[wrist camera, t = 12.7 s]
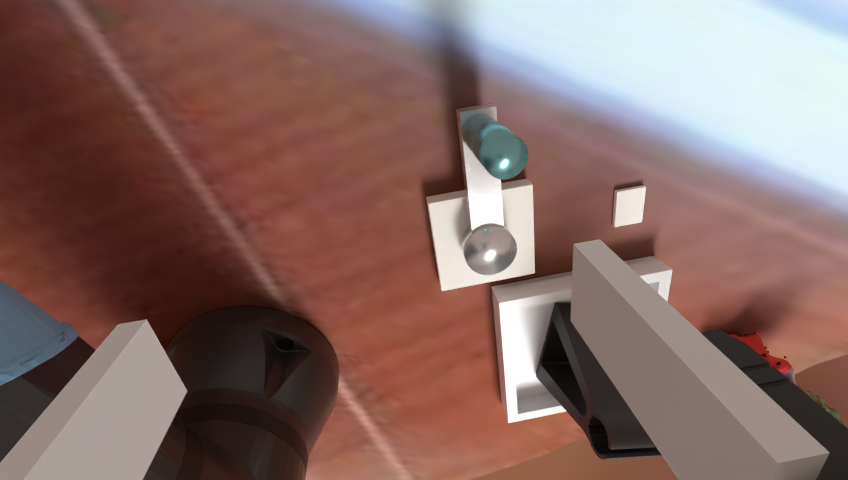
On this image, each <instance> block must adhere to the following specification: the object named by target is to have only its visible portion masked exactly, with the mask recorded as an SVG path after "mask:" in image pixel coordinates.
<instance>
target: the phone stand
mask: <svg viewBox="0 0 848 480" xmlns="http://www.w3.org/2000/svg"><path fill="white" fill-rule="evenodd" d="M570 320H571V302H555V304H554V307H553V311H552V315H551V318H550V322H549V326H548V329H547V333H546V337H545V339H546V341H544V344H543V348H542V352H541V355H540V359H539V363H538V366H537V370H536V377H537V379H538V380H539V381H540V382H541V383H542V384H543V385H544V386H545V388H546V389H547V390H548V391H549V392H550V393H551V394H552V395H553V397H554V398H555V399H556V400H557V401H558V402H559V403H560V404H561V406H562V407H563V408H564V409H565V410H566V411H567V412H568V413H569V414H570V416H571V417H572V418H573V419H574V420H575V421H576V422H577V423H578V425H579V426H580V427H581V428H582V429H583V431H584V432H585V434H586V435H587V437H588V439H589V441H590V443H591V446H592V447H593V450H594V452H595V453H596V455H597V456H598V457H599V458H601V459H618V458H636V457H654V456H662V455H661V453H660V452H659V450H658V449H657V447H656V446H655V444H654V443H653V442H652V440H651V439H650V437H649V436H648V434H647V433H646V431H645V430H644V428H643V427H642V425H641V424H640V422H639V421H638V419H637V418H636V416H635V415H634V414H633V412H632V411H631V409H630V408H629V406H628V405H627V403H626V402H625V400H624V399H623V397H622V396H621V394H620V393H619V391H618V390H617V388H616V387H615V386H614V384H613V383H612V381H611V380H610V378H609V377H608V375H607V374H606V372H605V371H604V369H603V368H602V366H601V365H600V363H599V362H598V360H597V359H596V358H595V356H594V355H593V353H592V352H591V350H590V349H589V347H588V346H587V344H586V343H585V341H584V340H583V338H582V337H581V335H580V334H579V332H578V331H577V330H576V328H575V327H574V325H573V324H572V322H571V321H570Z"/></svg>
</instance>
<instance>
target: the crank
mask: <svg viewBox="0 0 848 480" xmlns="http://www.w3.org/2000/svg"><path fill="white" fill-rule="evenodd" d="M456 112H457V121H458V130H459V140H460V149H461V158H462V167H463V177H464V186H465V195H466V204H467V213H468V223H469V228H468V229H467V230H466V232H465V233H464V235H463V237H462V240H461V250H462V253H463V255H464V258H465V260H466V263H467V264H468V266H469V267H470V268H471V269H472V270H473V271H474V272H476V273H478V274H482V275H493V274H497V273H500V272H502V271H504V270H505V269H506V268H508V267H509V266H510V265H511V263H512V262H513V261H514V259H515V257H516V253H517V244H516V241H515V239H514V237H513V236H512V234H511V233H510V232H509V230H508V229H507V227H506V226H505V225H504V221H503V205H502V190H501V179H510V178H512V177H514V176H516V175H518V174H519V173H520V172H521V171H522V170H523V169H524V167H525V165H526V163H527V160H528V149H527V146H526V144H525V143H524V142H523V141H522V140H521V139H520V138H519V137H517V136H516V135H515V134H513V133H512V132H511V131H509V130H508V129H507V128H505V127H504V126H503V125H501V124H500V123H499V122H497V112H496V106H495V105H494V104H492V103H489V104H484V105H478V106H472V107H467V108H461V109H456Z"/></svg>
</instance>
